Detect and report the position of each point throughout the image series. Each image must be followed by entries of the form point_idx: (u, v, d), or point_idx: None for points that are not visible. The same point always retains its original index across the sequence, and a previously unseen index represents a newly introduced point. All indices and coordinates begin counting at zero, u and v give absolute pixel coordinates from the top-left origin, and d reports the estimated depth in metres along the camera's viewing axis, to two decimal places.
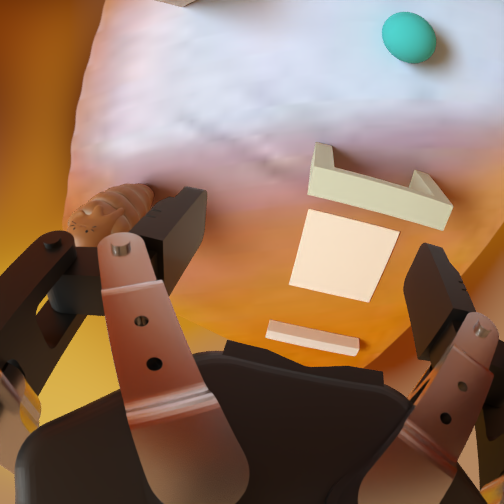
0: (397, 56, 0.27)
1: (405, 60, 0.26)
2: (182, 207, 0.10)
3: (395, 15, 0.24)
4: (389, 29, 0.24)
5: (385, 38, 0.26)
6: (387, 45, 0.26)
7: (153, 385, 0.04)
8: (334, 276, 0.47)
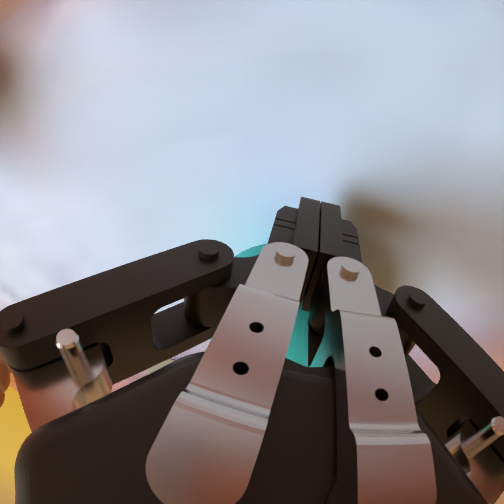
0: None
1: None
2: (312, 218, 0.10)
3: None
4: None
5: None
6: None
7: (225, 385, 0.04)
8: None
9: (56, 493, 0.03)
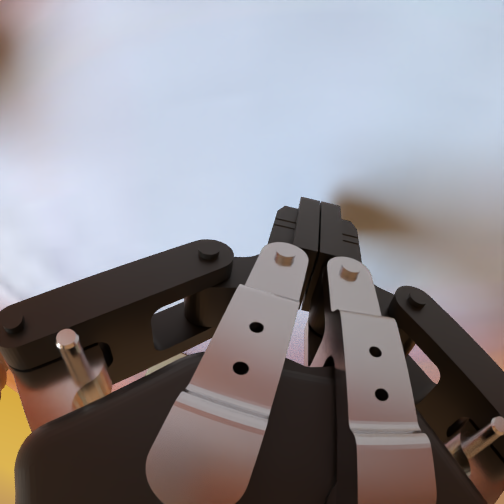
0: None
1: None
2: (312, 218, 0.10)
3: None
4: None
5: None
6: None
7: (226, 384, 0.04)
8: None
9: (56, 493, 0.03)
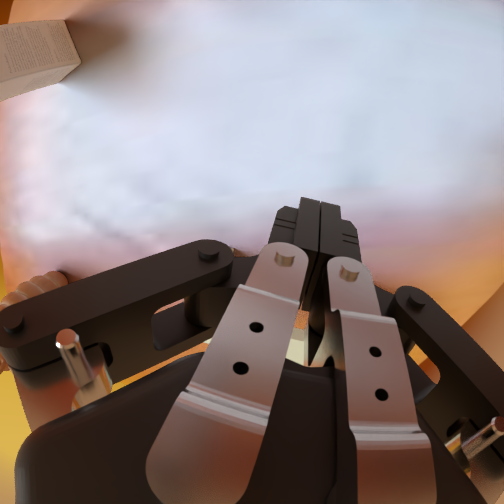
0: None
1: None
2: (312, 218, 0.10)
3: None
4: None
5: None
6: None
7: (225, 384, 0.04)
8: None
9: (56, 493, 0.03)
